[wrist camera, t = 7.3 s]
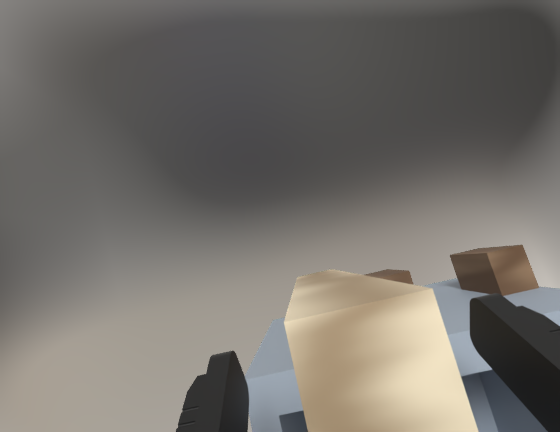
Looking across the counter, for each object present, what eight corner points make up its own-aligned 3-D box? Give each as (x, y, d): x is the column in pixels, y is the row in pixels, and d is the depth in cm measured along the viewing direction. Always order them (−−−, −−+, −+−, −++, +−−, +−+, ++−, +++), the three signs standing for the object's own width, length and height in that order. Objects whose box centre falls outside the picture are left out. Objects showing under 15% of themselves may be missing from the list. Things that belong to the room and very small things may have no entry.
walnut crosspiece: (386, 322, 19) (374, 278, 20) (369, 310, 24) (360, 275, 25) (539, 288, 19) (522, 244, 20) (490, 282, 24) (478, 248, 24)
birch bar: (327, 520, 6) (283, 321, 7) (307, 317, 27) (297, 277, 28) (496, 486, 6) (432, 288, 6) (342, 309, 27) (331, 269, 28)
